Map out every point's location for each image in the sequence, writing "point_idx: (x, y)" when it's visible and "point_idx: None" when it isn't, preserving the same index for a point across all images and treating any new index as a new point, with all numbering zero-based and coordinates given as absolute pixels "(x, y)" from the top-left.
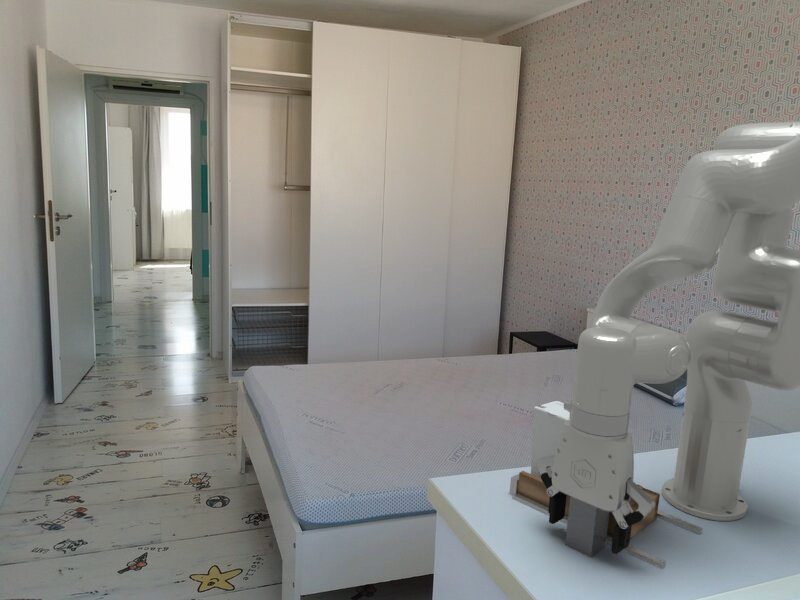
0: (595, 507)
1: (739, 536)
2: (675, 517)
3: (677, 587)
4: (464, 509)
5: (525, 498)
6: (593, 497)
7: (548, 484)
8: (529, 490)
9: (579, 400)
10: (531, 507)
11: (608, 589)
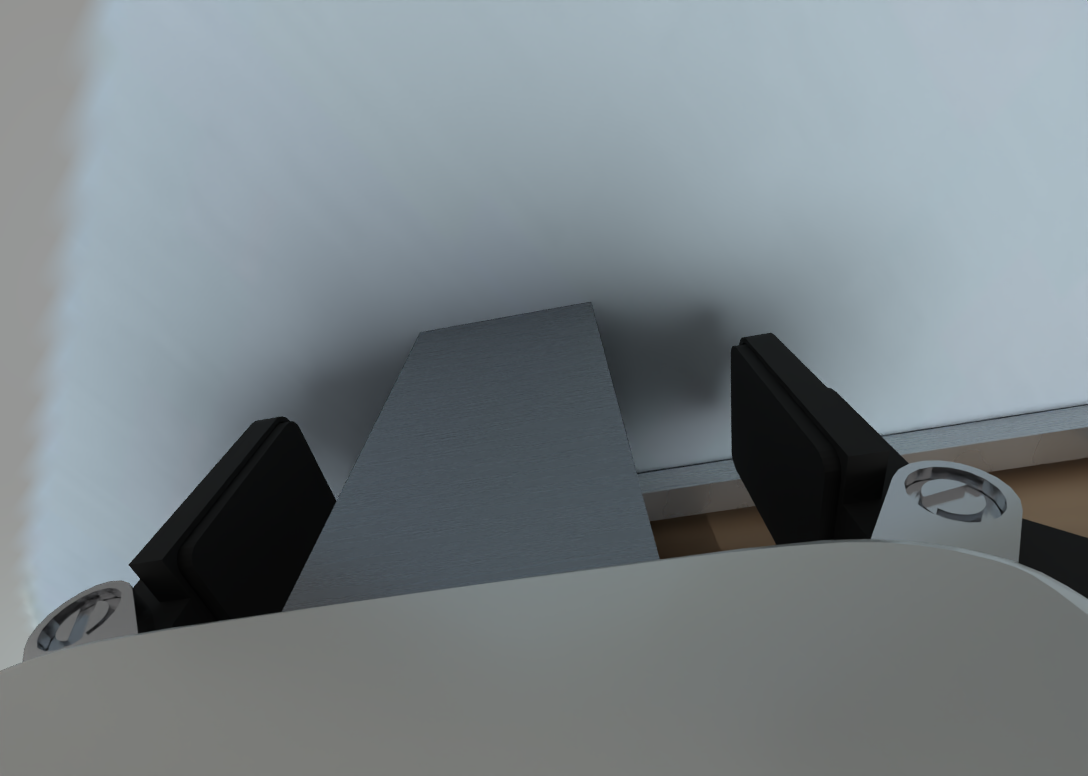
0: None
1: None
2: None
3: (83, 497)
4: None
5: (1052, 451)
6: (139, 770)
7: (1061, 569)
8: (1080, 507)
9: None
10: (970, 426)
11: (121, 180)
